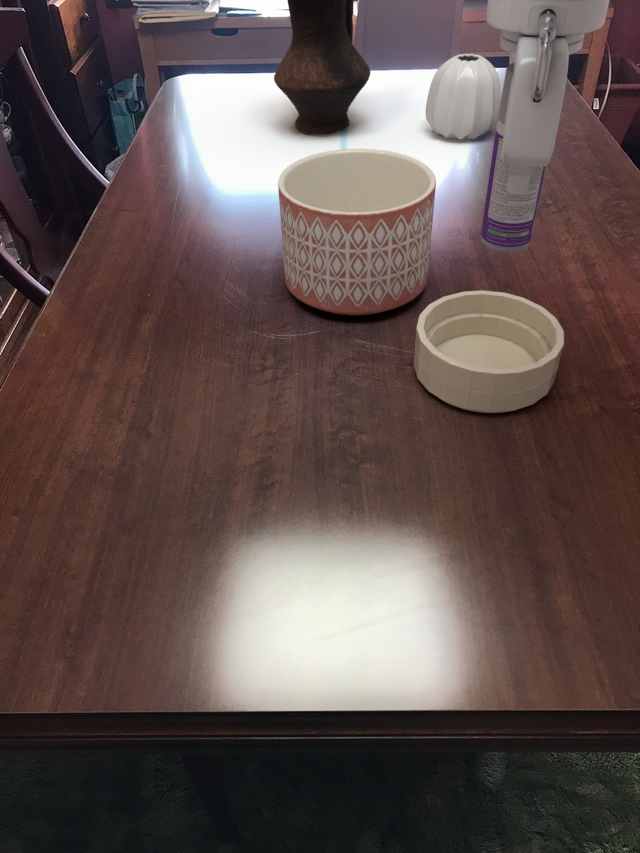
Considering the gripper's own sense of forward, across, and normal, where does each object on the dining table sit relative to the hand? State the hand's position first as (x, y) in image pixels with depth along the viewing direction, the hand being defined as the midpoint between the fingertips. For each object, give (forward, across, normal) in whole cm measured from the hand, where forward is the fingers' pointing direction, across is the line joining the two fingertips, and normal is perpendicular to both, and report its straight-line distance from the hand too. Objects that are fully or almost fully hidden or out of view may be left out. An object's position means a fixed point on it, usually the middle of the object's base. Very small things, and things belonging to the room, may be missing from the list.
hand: (517, 176), depth 61 cm
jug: (+24, +77, +36) cm, 89 cm away
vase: (+24, +77, +9) cm, 81 cm away
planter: (+24, +18, +18) cm, 35 cm away
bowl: (+24, +2, 0) cm, 24 cm away
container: (+6, 0, 0) cm, 6 cm away
